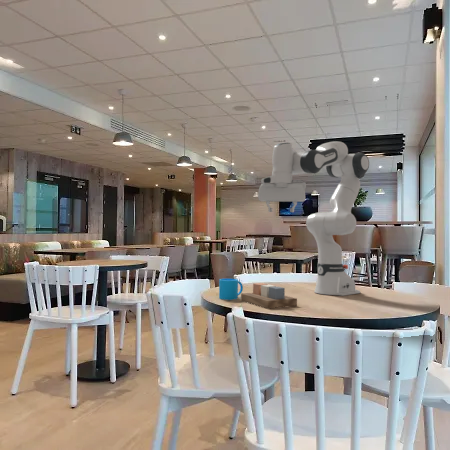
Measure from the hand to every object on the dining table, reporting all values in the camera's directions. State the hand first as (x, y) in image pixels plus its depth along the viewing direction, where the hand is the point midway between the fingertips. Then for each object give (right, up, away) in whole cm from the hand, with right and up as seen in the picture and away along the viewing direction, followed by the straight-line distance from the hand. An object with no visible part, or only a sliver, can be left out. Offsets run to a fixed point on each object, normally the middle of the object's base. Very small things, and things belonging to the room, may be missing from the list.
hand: (281, 212), depth 185 cm
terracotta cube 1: (-9, -35, -4) cm, 37 cm away
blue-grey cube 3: (-4, -35, -14) cm, 38 cm away
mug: (-21, -38, +4) cm, 44 cm away
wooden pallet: (-7, -38, -9) cm, 39 cm away
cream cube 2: (-7, -35, -9) cm, 37 cm away
